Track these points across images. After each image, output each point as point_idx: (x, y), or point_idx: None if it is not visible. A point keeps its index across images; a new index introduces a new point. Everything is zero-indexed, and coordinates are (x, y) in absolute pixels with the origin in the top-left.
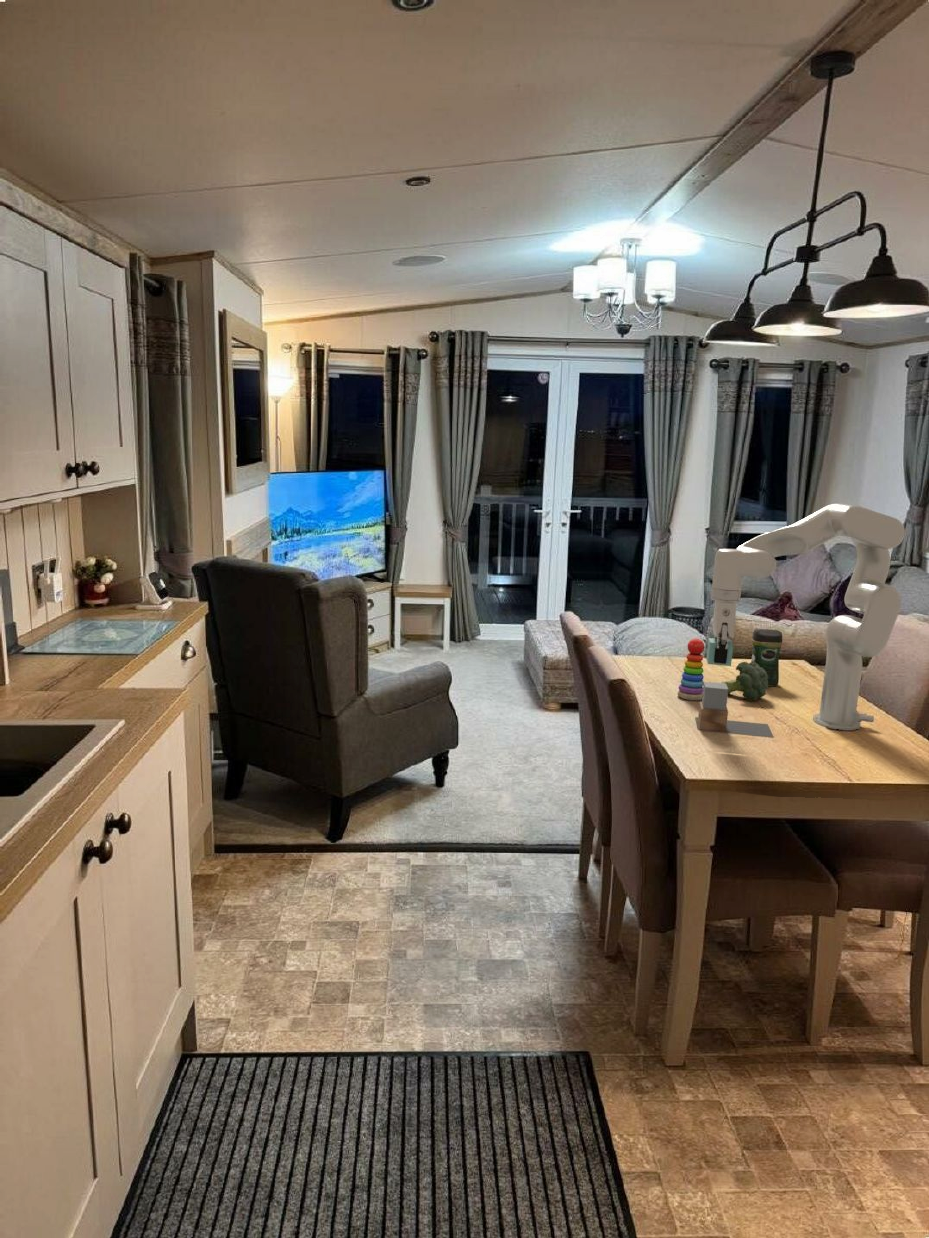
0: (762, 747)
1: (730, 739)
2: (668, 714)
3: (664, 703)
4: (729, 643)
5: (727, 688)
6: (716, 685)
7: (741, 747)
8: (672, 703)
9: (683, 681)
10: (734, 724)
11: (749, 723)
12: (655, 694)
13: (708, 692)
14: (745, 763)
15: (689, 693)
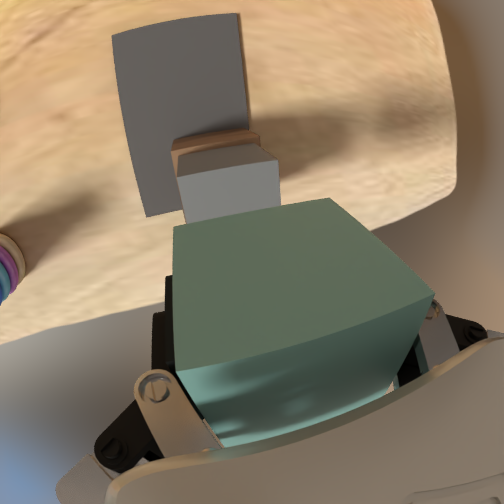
0: (315, 48)
1: (285, 115)
2: (151, 272)
3: (78, 293)
4: (401, 330)
5: (266, 163)
6: (235, 211)
7: (333, 95)
8: (66, 280)
9: (6, 296)
10: (156, 112)
11: (127, 77)
12: (39, 315)
13: None
14: (410, 104)
15: (15, 265)
